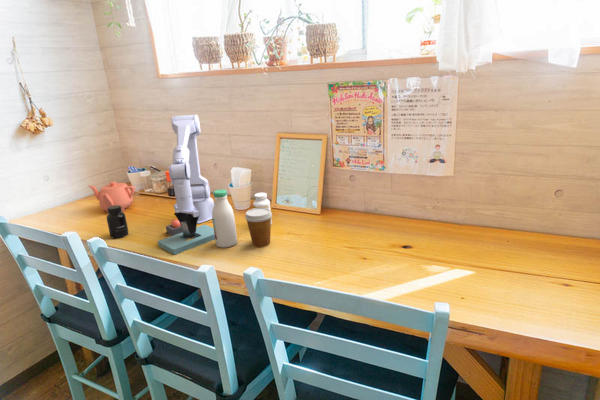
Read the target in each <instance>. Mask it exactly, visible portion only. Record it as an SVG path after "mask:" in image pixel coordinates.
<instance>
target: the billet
mask: <svg viewBox="0 0 600 400" xmlns="http://www.w3.org/2000/svg"><path fill="white" fill-rule="evenodd" d="M181 226H182V232H183V237H184V238H188V239H193V238H195V237H194V236H195V233H192V234H191V233H190V232H189V229H188V226H187V223H186V221H185V219H184V220H182V221H181Z"/></svg>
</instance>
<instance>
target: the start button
mask: <svg viewBox="0 0 600 400" xmlns="http://www.w3.org/2000/svg"><path fill="white" fill-rule="evenodd" d="M170 223H171V224H172V227H173V228H177V227H179V226H181V225H180V222H179V220H178V219H173V220H171V221H170Z"/></svg>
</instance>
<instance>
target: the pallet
mask: <svg viewBox="0 0 600 400" xmlns="http://www.w3.org/2000/svg"><path fill="white" fill-rule="evenodd" d="M188 239H189V238H184V237H183V232H182V233H179V234H176V235H173V236H171V235H170V236H168V237H165V238H162V239H159V240H157V244H158V247H160V248H161V249H164V251H167V252H169V253H170V254H172V255H175V256H177V255H179V254H181V253H184V252H187V251H188V250H192V249H193V248H196V247H199V246H202V245H204V244H207V243H210V242H212V241H214V240H215V234H214V227H212V226H210V225H207V224H202V225H199V226H196V232H195V236H194V237H193V238H190V239H189V240H188Z"/></svg>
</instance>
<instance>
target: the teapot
mask: <svg viewBox="0 0 600 400" xmlns="http://www.w3.org/2000/svg"><path fill="white" fill-rule="evenodd" d="M87 187H89V188H91V190H92V191H93V193H94V196H95V198H96V200H97V201H99V202H98V203H99V207H100V208H101V209H102V210H103V211H105V213H106V214H109V213H108V209H107V208H108V207H110V206H115V205H119V206H121V209H122V211H121V212H123V213H125V211H126V208H131V207H132V204H133V201H134V194H135V192H136V186H134V185H128V184H127V183H125V182H117V181H110V182H109V183H108V184H106V185H104V186H102V187H101V189H100V190H98V188H97V187H96V186H95V185H87ZM99 191H100V192H99ZM130 206H131V207H130Z"/></svg>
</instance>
